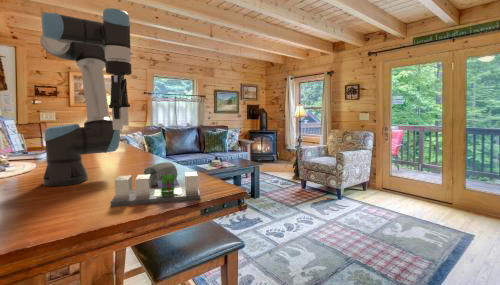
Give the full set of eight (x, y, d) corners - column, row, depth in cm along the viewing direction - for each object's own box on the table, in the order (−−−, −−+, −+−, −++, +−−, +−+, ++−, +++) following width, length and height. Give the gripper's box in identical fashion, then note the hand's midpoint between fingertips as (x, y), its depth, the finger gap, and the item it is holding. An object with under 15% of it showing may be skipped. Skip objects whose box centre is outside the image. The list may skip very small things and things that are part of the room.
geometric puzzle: (181, 188, 87) (177, 167, 91) (160, 191, 84) (157, 169, 88) (178, 196, 93) (174, 175, 96) (157, 199, 90) (155, 177, 93)
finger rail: (118, 195, 92) (117, 174, 91) (197, 189, 99) (197, 170, 98) (110, 206, 81) (109, 182, 80) (200, 199, 88) (199, 177, 87)
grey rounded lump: (152, 181, 98) (150, 156, 102) (139, 188, 103) (138, 164, 107) (183, 182, 108) (181, 160, 112) (170, 189, 113) (168, 167, 117)
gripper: (125, 56, 75) (128, 131, 78) (135, 67, 98) (137, 124, 102) (95, 54, 73) (100, 131, 76) (112, 65, 96) (115, 124, 99)
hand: (121, 127), depth 89 cm, fingers open, 13 cm apart
